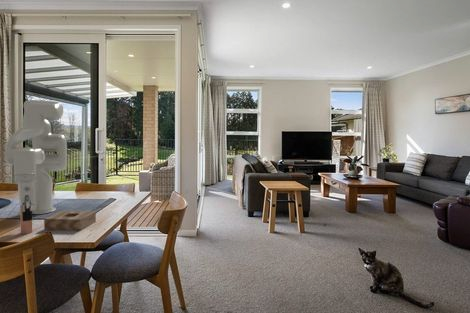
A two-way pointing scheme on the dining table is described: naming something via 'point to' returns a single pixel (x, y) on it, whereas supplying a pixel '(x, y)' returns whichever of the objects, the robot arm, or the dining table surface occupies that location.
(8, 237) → the dining table surface
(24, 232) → the peg
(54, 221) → the socket block
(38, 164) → the robot arm
